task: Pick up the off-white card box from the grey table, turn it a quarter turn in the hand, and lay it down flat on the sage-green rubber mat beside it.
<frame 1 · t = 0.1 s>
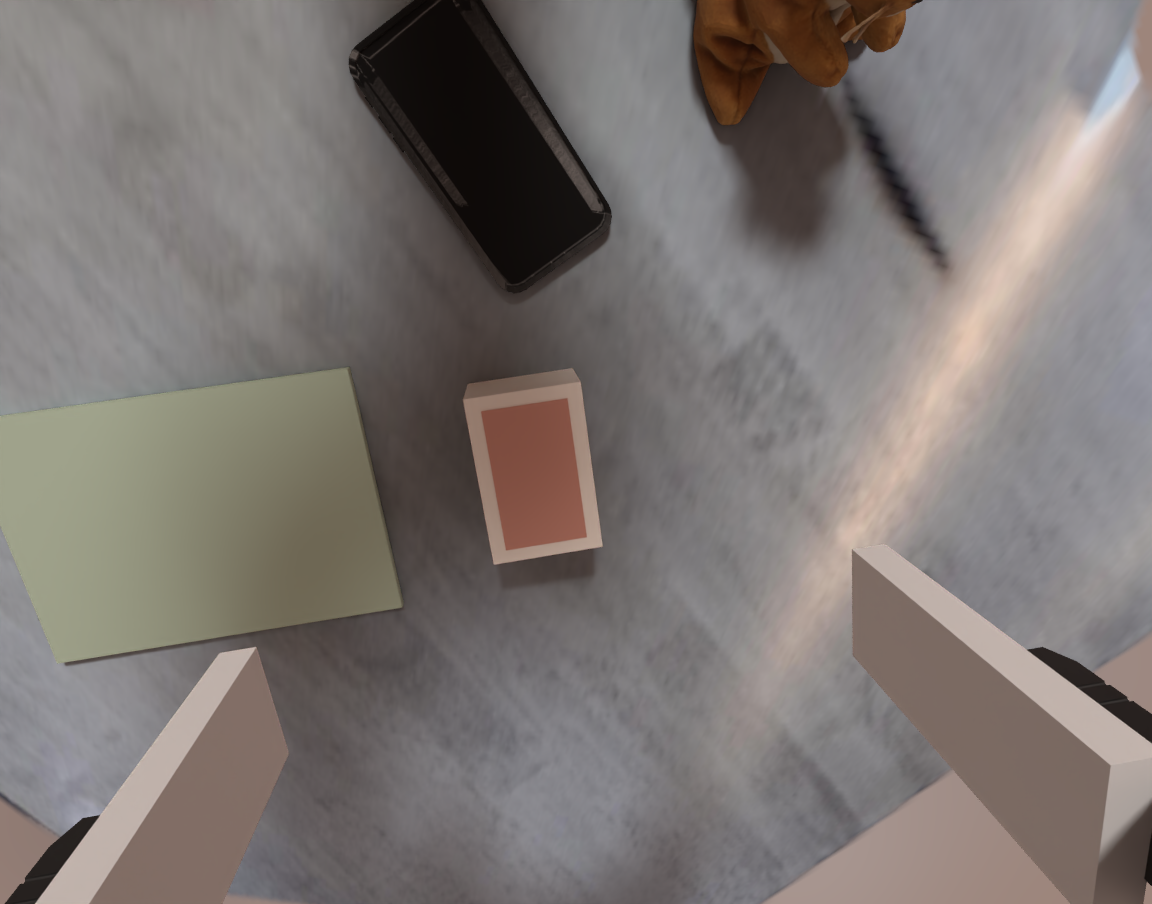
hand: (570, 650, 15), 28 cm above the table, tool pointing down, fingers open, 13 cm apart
mat: (200, 518, 41), on the table
card box: (532, 451, 42), on the table
phone: (486, 148, 37), on the table
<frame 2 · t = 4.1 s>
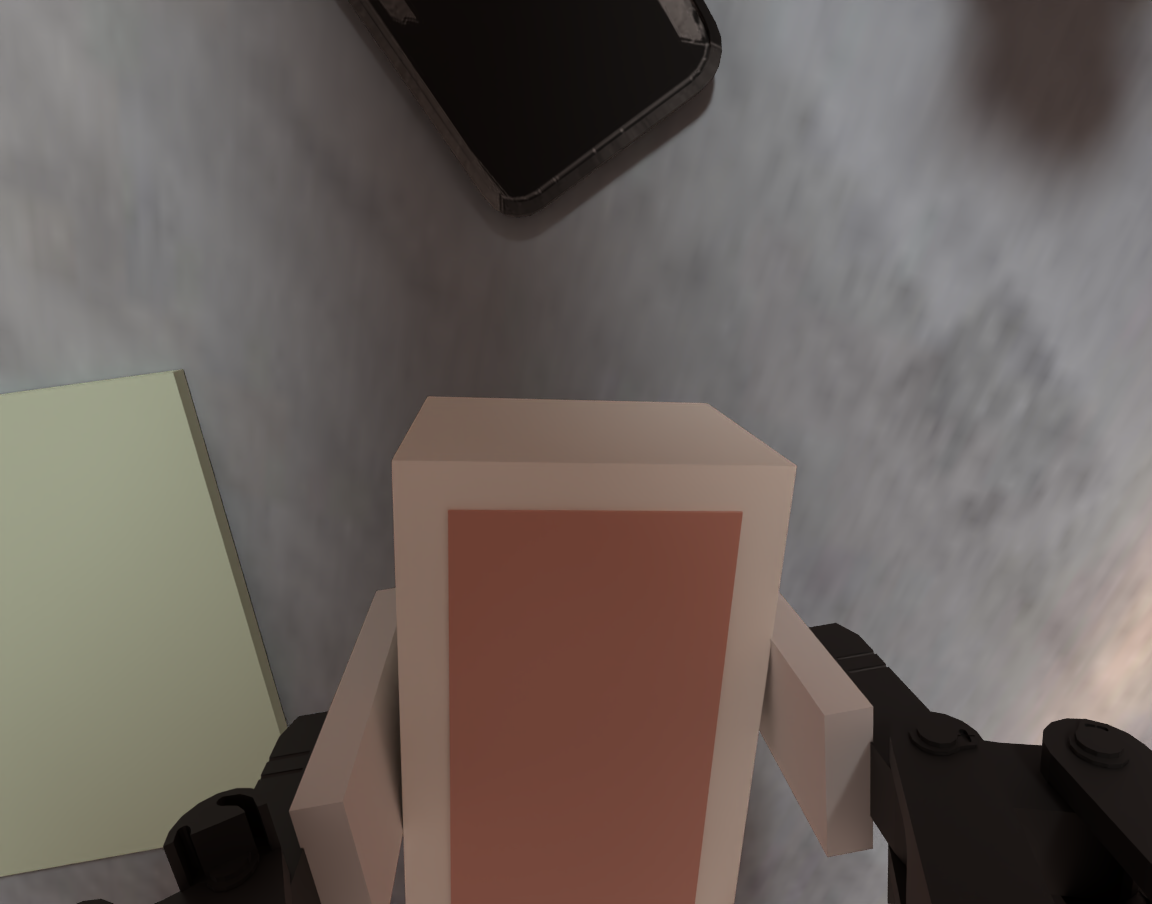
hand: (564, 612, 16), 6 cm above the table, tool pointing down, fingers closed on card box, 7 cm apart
card box: (562, 594, 17), point 5 cm above the table, touching gripper
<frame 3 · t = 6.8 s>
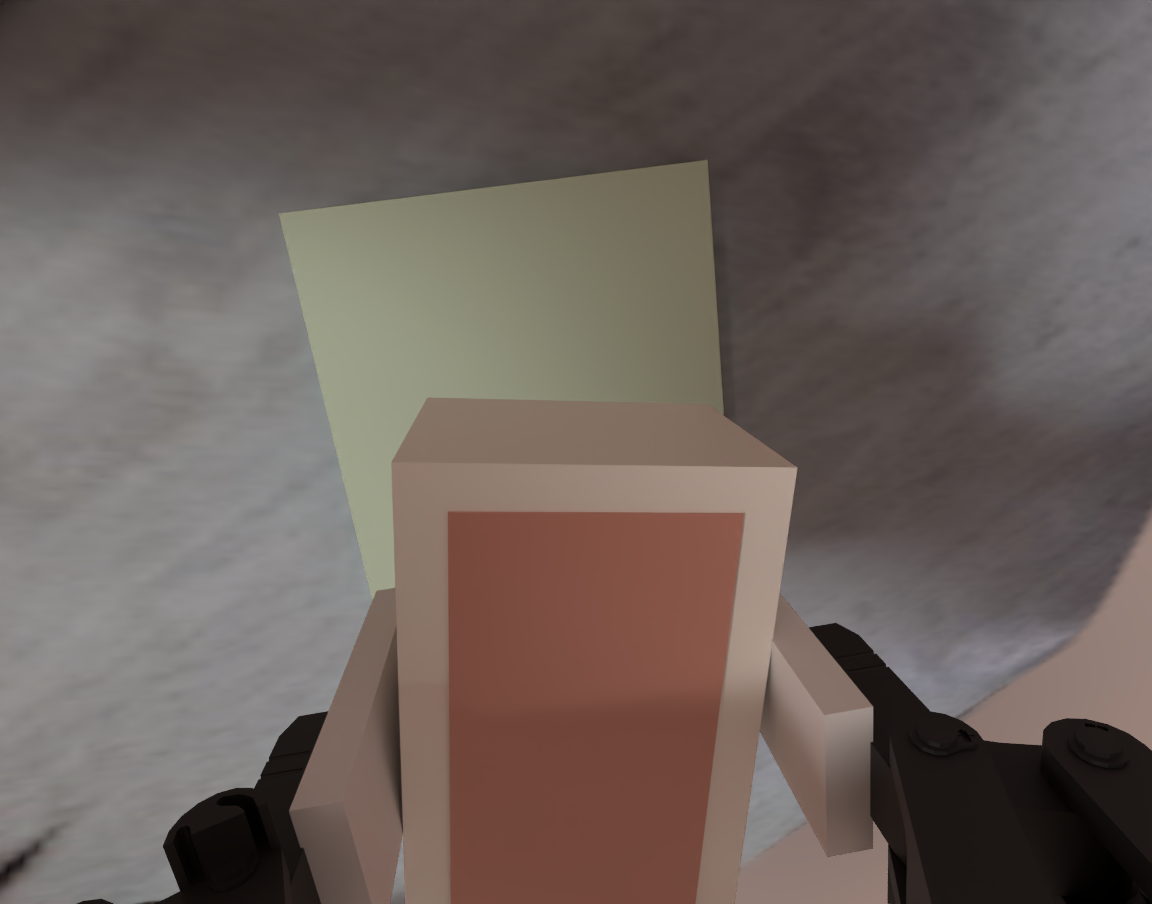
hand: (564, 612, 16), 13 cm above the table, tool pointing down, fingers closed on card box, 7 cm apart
mat: (538, 461, 28), on the table
card box: (562, 596, 17), point 12 cm above the table, touching gripper
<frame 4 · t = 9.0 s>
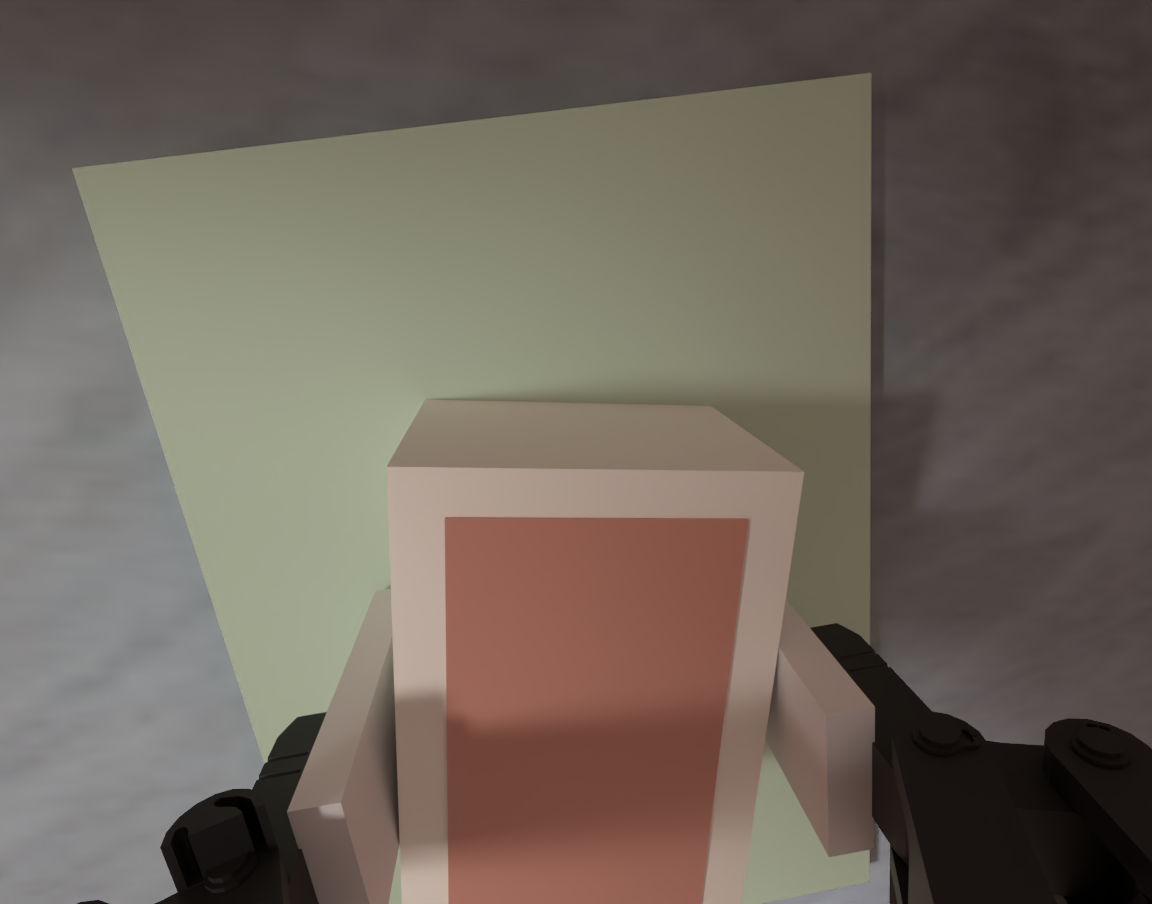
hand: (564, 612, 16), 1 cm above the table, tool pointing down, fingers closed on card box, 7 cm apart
mat: (558, 593, 17), on the table
card box: (562, 601, 16), point 1 cm above the table, touching gripper, mat
when the fingers open (1 cm above the table, at t = 9.7 s): card box stays where it is, resting on mat.
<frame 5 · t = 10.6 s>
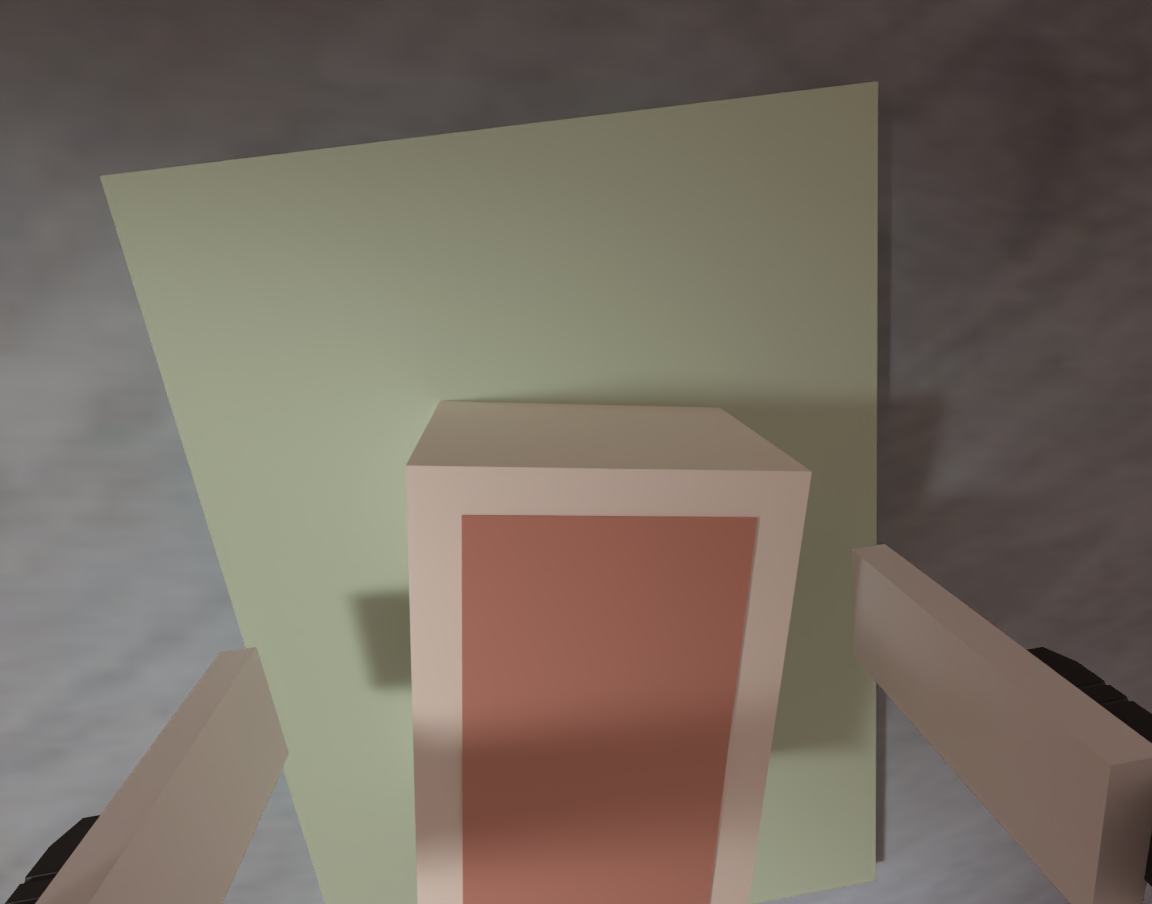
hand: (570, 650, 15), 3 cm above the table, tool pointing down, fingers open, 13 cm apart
mat: (568, 592, 17), on the table
card box: (573, 599, 17), point 1 cm above the table, touching mat
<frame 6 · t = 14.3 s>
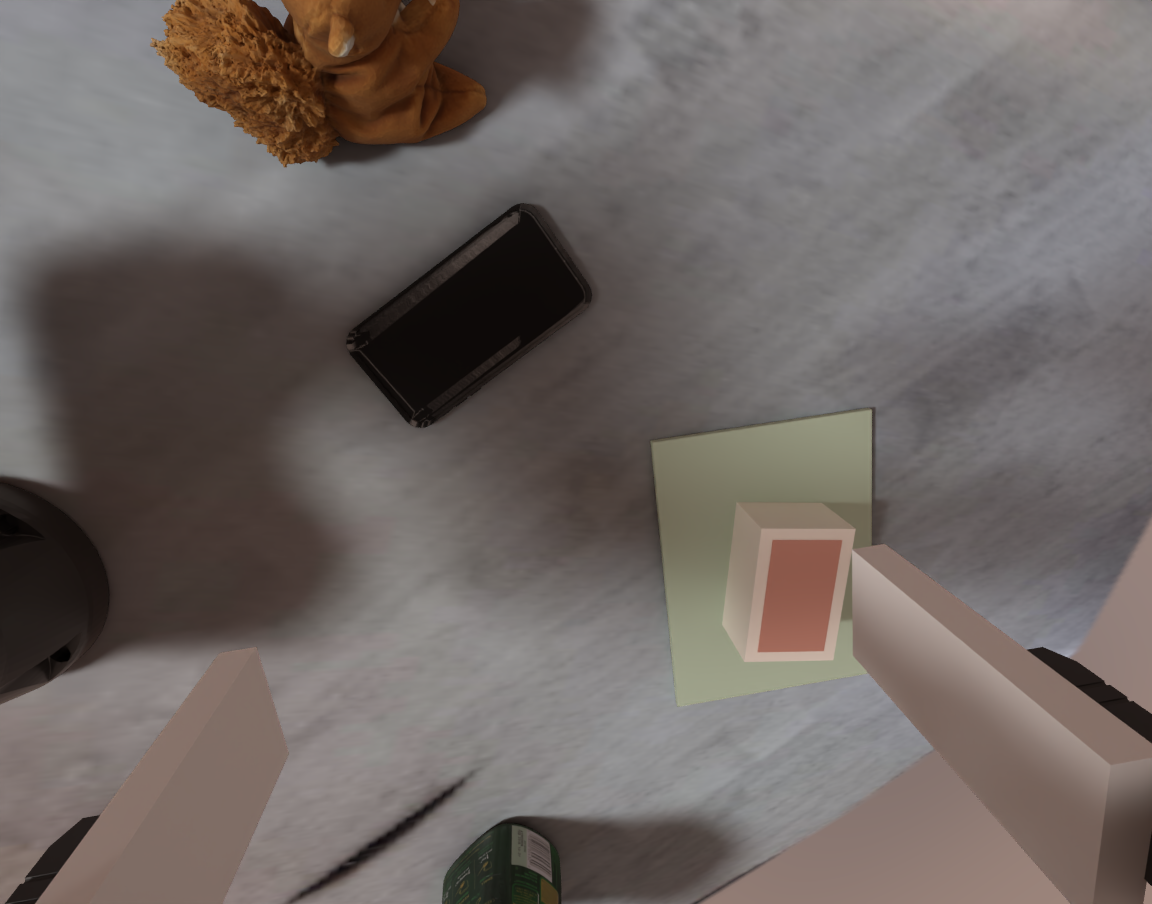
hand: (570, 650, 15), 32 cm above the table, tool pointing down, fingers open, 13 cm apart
coffee jar: (503, 861, 56), on the table
mat: (766, 562, 50), on the table
stuffed squirrel: (354, 82, 39), on the table
card box: (770, 564, 50), point 1 cm above the table, touching mat
phone: (471, 318, 44), on the table
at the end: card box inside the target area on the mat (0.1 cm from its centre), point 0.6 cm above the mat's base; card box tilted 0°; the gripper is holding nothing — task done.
